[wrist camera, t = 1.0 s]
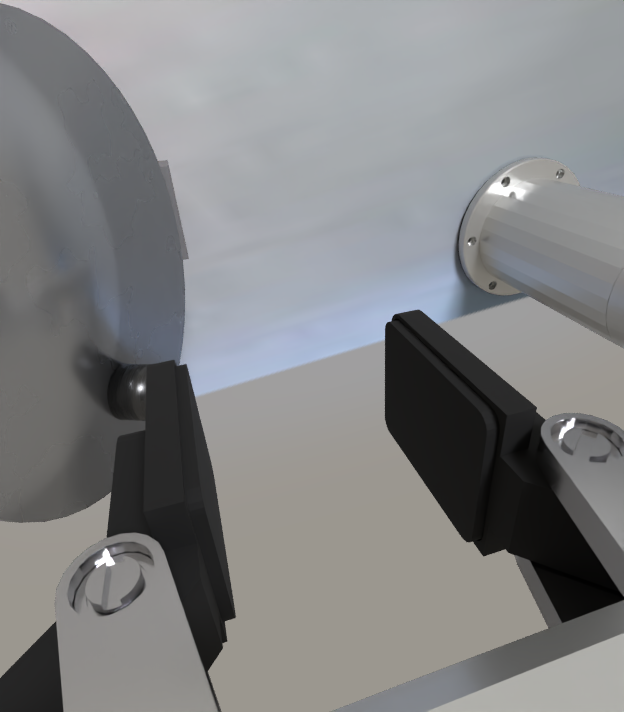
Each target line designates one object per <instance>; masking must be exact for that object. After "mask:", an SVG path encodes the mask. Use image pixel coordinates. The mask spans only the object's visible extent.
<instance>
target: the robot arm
mask: <svg viewBox="0 0 624 712" xmlns="http://www.w3.org/2000/svg"><path fill="white" fill-rule="evenodd" d="M459 257H460V261H461V265H462V267H463V269H464V271H465V273H466V275H467V277H468V278H469V279H470V280H471V281H472V282H473V283H474V284H475V285H477V286H478V287H479V288H481V289H483V290H484V291H486V292H488V293H491V294H495V295H514V294H518V293H522V292H523V293H524V294H526V295H528V296H530V297H532V298H534V299H535V300H537V301H539V302H541V303H542V304H544V305H546V306H548V307H550V308H551V309H553V310H555V311H557V312H559V313H560V314H562V315H564V316H566V317H568V318H569V319H571V320H573V321H575V322H577V323H579V324H580V325H582V326H584V327H585V328H587V329H589V330H591V331H593V332H594V333H596V334H598V335H600V336H602V337H603V338H605V339H607V340H609V341H611V342H613V343H615V344H617V345H618V346H620V347H622V348H624V197H623V196H619V195H615V194H610V193H606V192H602V191H597V190H593V189H589V188H585V187H580V184H579V182H578V180H577V178H576V176H575V174H574V173H573V172H572V171H571V170H570V169H569V168H568V167H567V166H565V165H564V164H562V163H560V162H558V161H555V160H550V159H546V158H537V157H534V158H527V159H522V160H519V161H517V162H514V163H511V164H510V165H508V166H506V167H504V168H503V169H501V170H499V171H498V172H497V173H496V174H495V175H493V176H492V177H491V178H490V179H489V180H488V181H487V182H486V183H485V184H484V185H483V186H482V188H481V189H480V190H479V191H478V193H477V194H476V196H475V197H474V199H473V200H472V202H471V203H470V205H469V208H468V210H467V212H466V214H465V216H464V219H463V223H462V226H461V230H460V237H459ZM536 409H537V407H536V406H534V405H533V404H532V403H531V402H530V401H529V400H527V399H526V398H525V397H524V396H522V395H521V394H520V393H519V392H518V391H516V390H515V389H514V388H513V387H512V386H511V385H509V384H508V383H507V382H506V381H505V380H503V379H502V378H501V377H500V376H498V375H497V374H496V373H495V372H494V371H493V370H491V369H490V368H489V367H488V366H487V365H485V364H484V363H483V362H482V361H481V360H479V359H478V358H477V357H476V356H475V355H473V354H472V353H471V352H470V351H469V350H467V349H466V348H465V347H464V346H463V345H461V344H460V343H459V342H458V341H457V340H455V339H454V338H453V337H452V336H450V335H449V334H448V333H447V332H446V331H445V330H443V329H442V328H441V327H440V326H439V325H437V324H436V323H435V322H434V321H433V320H431V319H430V318H429V317H428V316H427V315H425V314H424V313H423V312H422V311H420V310H414V311H409V312H404V313H399V314H395V315H394V316H393V318H392V321H391V322H387V324H386V327H385V420H386V424H387V427H388V430H389V432H390V433H391V435H392V436H393V438H394V439H395V441H396V442H397V444H398V445H399V446H400V448H401V449H402V451H403V452H404V454H405V455H406V457H407V458H408V460H409V461H410V462H411V464H412V465H413V467H414V468H415V470H416V471H417V472H418V474H419V476H420V477H421V478H422V480H423V481H424V483H425V484H426V486H427V487H428V489H429V490H430V492H431V493H432V494H433V496H434V497H435V499H436V500H437V502H438V503H439V504H440V506H441V508H442V509H443V510H444V512H445V513H446V515H447V516H448V518H449V519H450V521H451V522H452V524H453V525H454V527H455V528H456V529H457V531H458V532H459V534H460V535H461V537H462V538H463V539H464V540H465V541H466V542H472V541H473V542H474V544H475V545H476V547H477V548H478V550H479V551H480V552H481V554H482V555H483V556H486V555H489V554H492V553H495V552H498V551H501V550H504V549H506V550H507V551H508V553H511V554H513V555H515V558H516V562H517V565H518V567H519V569H520V571H521V573H522V575H523V577H524V579H525V581H526V583H527V585H528V587H529V589H530V591H531V593H532V595H533V597H534V599H535V601H536V603H537V606H538V607H539V610H540V612H541V613H542V616H543V618H544V620H545V622H546V624H547V626H548V628H549V629H546V630H543V631H541V632H538V633H535V634H533V635H530V636H527V637H525V638H522V639H520V640H517V641H514V642H512V643H509V644H506V645H504V646H501V647H498V648H496V649H493V650H491V651H488V652H485V653H482V654H480V655H477V656H475V657H472V658H469V659H467V660H464V661H461V662H459V663H456V664H454V665H451V666H448V667H446V668H443V669H441V670H438V671H435V672H432V673H430V674H427V675H425V676H422V677H419V678H417V679H414V680H411V681H409V682H406V683H404V684H401V685H398V686H396V687H393V688H391V689H388V690H385V691H383V692H380V693H378V694H375V695H372V696H370V697H367V698H365V699H362V700H360V701H357V702H354V703H352V704H349V705H346V706H344V707H342V708H339V709H336V710H334V711H331V712H624V431H623V430H622V429H621V428H620V427H618V426H616V425H614V424H612V423H611V422H609V421H607V420H604V419H601V418H598V417H595V416H592V415H586V414H580V413H563V414H559V415H555V416H552V417H550V418H549V419H547V420H545V419H544V418H543V417H541V416H540V415H539V414H538V413H537V412H536ZM55 612H56V622H55V623H54V624H53V625H52V626H51V627H50V628H49V629H48V630H47V631H46V632H45V633H44V634H43V635H42V636H41V637H40V638H39V639H38V640H37V641H36V642H35V643H34V644H33V645H32V646H31V647H30V648H29V649H28V650H27V651H26V652H25V654H23V655H22V656H21V658H19V660H17V662H15V664H14V665H13V666H12V667H11V668H10V669H9V670H8V671H7V672H6V673H5V674H4V675H3V676H2V677H1V678H0V712H221V709H220V706H219V703H218V700H217V697H216V694H215V691H214V689H213V685H212V683H211V679H210V676H209V674H208V670H209V668H210V667H211V665H212V664H213V662H214V661H215V659H216V658H217V656H218V655H219V653H220V652H221V650H222V649H223V646H222V643H224V642H227V636H226V628H225V621H227V620H230V619H233V618H235V617H236V616H235V608H234V602H233V595H232V589H231V582H230V577H229V570H228V563H227V557H226V551H225V544H224V538H223V532H222V525H221V518H220V512H219V506H218V499H217V493H216V487H215V480H214V475H213V470H212V465H211V460H210V456H209V452H208V448H207V444H206V440H205V436H204V432H203V428H202V424H201V420H200V416H199V412H198V408H197V404H196V400H195V396H194V392H193V388H192V384H191V380H190V376H189V372H188V368H187V365H186V364H185V365H180V366H177V365H176V362H175V360H170V361H165V362H160V363H155V364H150V365H147V374H146V418H145V430H143V431H138V432H134V433H130V434H125V435H121V436H119V437H118V438H117V443H116V452H115V462H114V472H113V481H112V491H111V502H110V511H109V521H108V530H107V538H105V539H103V540H101V541H99V542H98V543H96V544H94V545H92V546H90V547H89V548H88V549H86V550H85V551H84V552H83V553H81V554H80V555H79V556H78V557H77V558H76V559H75V560H74V561H73V562H72V563H71V565H70V566H69V567H68V568H67V570H66V571H65V572H64V573H63V576H62V578H61V580H60V582H59V584H58V586H57V589H56V597H55Z"/></svg>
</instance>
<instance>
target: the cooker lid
mask: <svg viewBox="0 0 624 712" xmlns="http://www.w3.org/2000/svg"><path fill="white" fill-rule="evenodd" d="M184 319H185V282H184V270H183V259H182V252H181V245H180V238H179V233H178V228H177V223H176V218H175V214H174V210H173V206H172V202H171V198H170V195H169V192H168V189H167V186H166V183H165V179H164V176H163V174H162V171H161V169H160V166H159V163H158V161H157V158H156V156H155V153H154V151H153V149H152V147H151V145H150V143H149V140H148V138H147V136H146V134H145V132H144V130H143V128H142V127H141V125H140V123H139V121H138V119H137V117H136V116H135V114H134V112H133V110H132V109H131V107H130V106H129V104H128V103H127V101H126V100H125V98H124V97H123V95H122V93H121V92H120V91H119V89H118V88H117V87H116V85H115V84H114V83H113V82H112V80H111V79H110V78H109V76H108V75H107V74H106V73H105V71H104V70H103V69H102V68H101V67H100V66H99V65H98V64H97V63H96V62H95V61H94V60H93V58H92V57H91V56H90V55H89V54H88V53H87V52H86V51H85V50H83V49H82V48H81V47H80V46H79V45H78V44H76V43H75V42H74V41H73V40H72V39H71V38H69V37H68V36H67V35H66V34H64V33H63V32H61V31H60V30H58V29H57V28H55V27H54V26H52V25H51V24H49V23H48V22H46V21H45V20H43V19H41V18H39V17H36V16H34V15H32V14H30V13H28V12H26V11H24V10H21V9H19V8H16V7H12V6H9V5H5V4H1V3H0V521H7V522H19V523H22V522H45V521H50V520H53V519H58V518H63V517H67V516H69V515H71V514H74V513H76V512H79V511H81V510H83V509H86V508H88V507H89V506H91V505H92V504H94V503H96V502H97V501H99V500H100V499H102V498H104V497H105V496H106V495H107V494H109V493H110V492H111V491H112V481H113V472H114V462H115V452H116V443H117V438H118V437H119V436H121V435H125V434H130V433H134V432H138V431H143V430H145V418H146V374H147V365H150V364H155V363H160V362H165V361H170V360H175V362H176V365H177V366H179V363H180V357H181V350H182V344H183V333H184Z"/></svg>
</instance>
